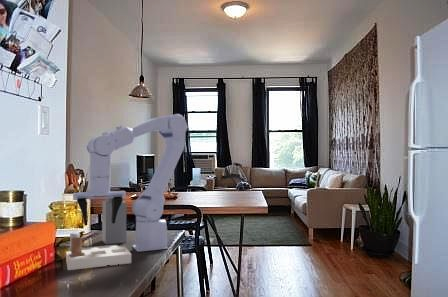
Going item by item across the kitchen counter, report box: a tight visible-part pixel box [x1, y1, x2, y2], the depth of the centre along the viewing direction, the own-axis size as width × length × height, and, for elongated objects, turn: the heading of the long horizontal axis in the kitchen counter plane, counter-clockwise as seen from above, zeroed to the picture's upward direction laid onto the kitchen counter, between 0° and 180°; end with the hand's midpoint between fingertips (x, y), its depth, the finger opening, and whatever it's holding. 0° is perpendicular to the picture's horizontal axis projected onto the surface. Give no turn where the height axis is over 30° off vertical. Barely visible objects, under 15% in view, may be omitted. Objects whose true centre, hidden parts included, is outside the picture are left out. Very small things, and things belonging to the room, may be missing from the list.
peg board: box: [65, 245, 132, 271], centre depth 105 cm, size 16×10×2 cm, turn 115°
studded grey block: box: [68, 232, 120, 251], centre depth 114 cm, size 14×6×6 cm, turn 115°
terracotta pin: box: [71, 237, 83, 257], centre depth 103 cm, size 3×3×7 cm
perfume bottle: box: [101, 187, 127, 245], centre depth 132 cm, size 7×7×18 cm
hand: (99, 223), depth 111 cm, fingers open, 7 cm apart
